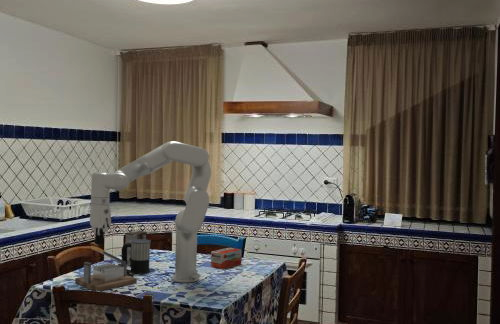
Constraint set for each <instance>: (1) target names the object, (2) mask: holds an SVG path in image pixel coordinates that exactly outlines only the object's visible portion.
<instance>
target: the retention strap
mask: <svg viewBox="0 0 500 324" xmlns="http://www.w3.org/2000/svg"><path fill="white" fill-rule="evenodd" d="M90 249H91V250H93V251H96V252H98V253H100V254H102V255H104V256H106V257H108V258H110V259H112V260H115V261H116V262H118V263H123V264H126V261H123V260H122V258H119V257H117V256H115V255H113V254H111V253H109V252H107V251H105V250H104V249H102V248H100V247H97V246H94V245H91V246H90Z"/></svg>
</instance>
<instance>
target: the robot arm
mask: <svg viewBox="0 0 500 324" xmlns="http://www.w3.org/2000/svg"><path fill="white" fill-rule="evenodd" d="M209 159H210V153H209V152H208V150H207V149H205V148H204V147H200V146H195V145H191V144H187V143H183V142H180V141H174V140H171V141H167V142H164V143H163V144H161V145H159V146H158V147H156V148H155V149H153V150H150V151H149V152H148V153H145V154H143V155H142V156H140V157H138V158H137V159H135V160H133V161H132V162H130V163H128V164H126V165H124V166H123V167H120V168H119V169H117V170H115V171H114V172H110V173H109V172H107V171H106V172H105V171H103V172H101V171H96V172H92V174H91V186H90V187H91V189H90V214H89V225H90V226H91V228H92V230H94V232H93V233H94V244H95V245H103V244H104V242H105V239H104V238H105V233H107V232H108V231H109V230H108V229H110V228H111V227H112V211H111V206H110V191H111V190H116V191H121V190H125V189H126V188H127V187H128V186H129V183H131V182H133V181H134V180H136V179H139V178H140V177H144V176H147V175H150V174H151V175H152V173H155V172H157V171H158V170H160V169H161V168H163V167H165V166H167V165H168V164H170V163H172V162H177V163H181V164H184V165H188V166H189V165H190V166H191V170H192V171H191V177H190V180H189V183H188V186H187V189H186V191H185V194H184V202H185V204H186V205H185V208H184V209H181V210H180V211H179V212H178V213H177V214H176V217H175V220H174V221H175V224H174V225H175V255H174V256H175V257H174V258H175V260H174V261H175V262H174V264H175V265H174V274H173V275H172V276H171V281H173V282H176V283H187V284H188V283H195V282H197V281H198V282H199V280H200V279H201V275H202V274H200V273H198V269H197V258H198V257H197V256H198V255H197V254H198V253H197V251H198V250H197V249H198V248H197V247H198V232H199V231H200V230H201V228H202V226H203V223H204V220H205V219H206V216H207V215H206V214H207V212H208V208H209V205H210V195H209V193H208V192H207V190H208V188H209V184H210V180H211V175H212V170H211V169H212V168H211V164H210V161H209Z"/></svg>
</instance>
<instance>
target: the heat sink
mask: <svg viewBox="0 0 500 324" xmlns="http://www.w3.org/2000/svg"><path fill="white" fill-rule="evenodd" d="M127 269H128V265H127V264H123V263H120V262H118V263H117V264H115V263H112V262H109V263H105V264H104V263H103V264H98V265H93V266H92V263H91V262H88V261H84V262H83V277H84V282H86V283H91V275H93V278H95V279H98V280H100V281H103V282H109V281H114V280H119V279H124V276H127ZM91 273H92V274H91Z"/></svg>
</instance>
